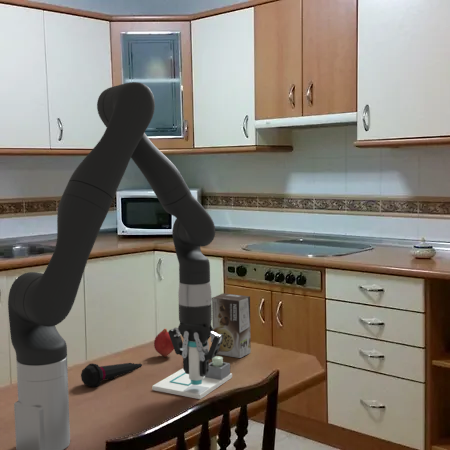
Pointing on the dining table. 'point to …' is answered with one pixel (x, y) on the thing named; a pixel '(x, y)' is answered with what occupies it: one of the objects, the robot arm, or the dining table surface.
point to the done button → (217, 361)
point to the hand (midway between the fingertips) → (196, 373)
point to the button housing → (218, 371)
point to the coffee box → (232, 324)
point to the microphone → (105, 372)
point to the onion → (163, 343)
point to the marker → (194, 364)
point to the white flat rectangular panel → (188, 385)
